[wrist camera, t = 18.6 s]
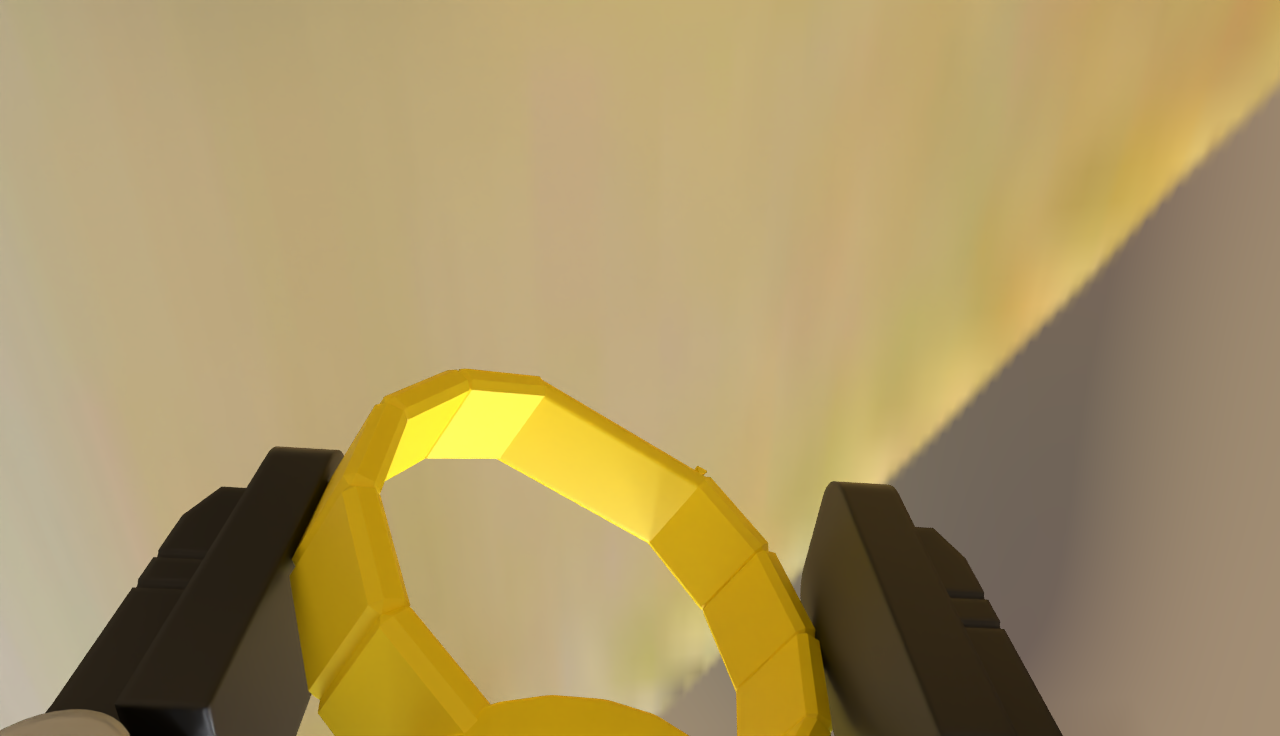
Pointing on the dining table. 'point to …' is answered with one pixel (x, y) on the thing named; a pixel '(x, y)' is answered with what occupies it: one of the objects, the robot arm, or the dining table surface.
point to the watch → (584, 473)
